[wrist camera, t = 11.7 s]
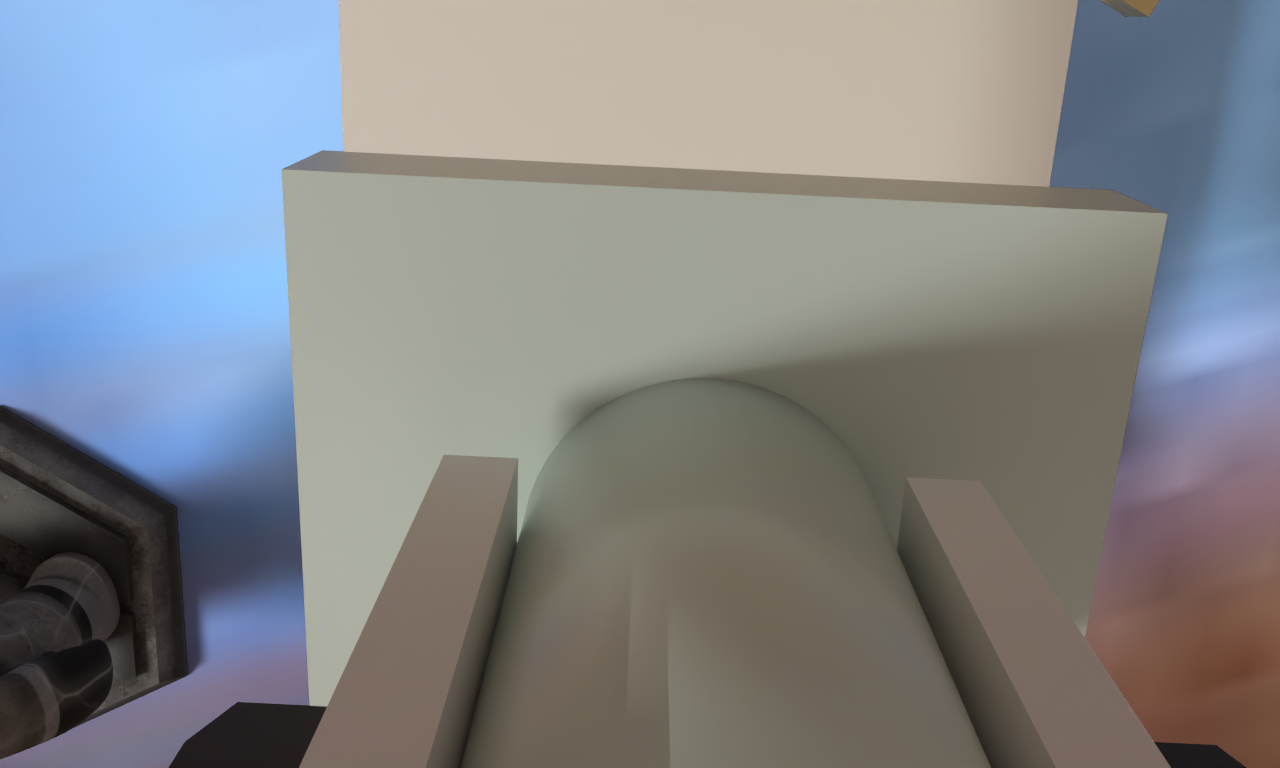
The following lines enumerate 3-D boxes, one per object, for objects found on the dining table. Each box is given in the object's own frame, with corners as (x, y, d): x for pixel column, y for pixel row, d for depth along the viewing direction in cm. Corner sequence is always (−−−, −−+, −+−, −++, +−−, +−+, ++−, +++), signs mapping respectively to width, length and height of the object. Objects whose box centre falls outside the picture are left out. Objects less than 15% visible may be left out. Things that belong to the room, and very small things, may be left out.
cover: (322, 150, 13) (-418, 494, 4) (1112, 189, 13) (2117, 620, 4) (346, 745, 16) (-72, 1761, 7) (1006, 776, 16) (1481, 1834, 7)
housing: (378, -412, 23) (320, -499, 19) (1069, -378, 23) (1152, -458, 19) (395, 461, 29) (353, 531, 25) (947, 489, 29) (992, 563, 25)
